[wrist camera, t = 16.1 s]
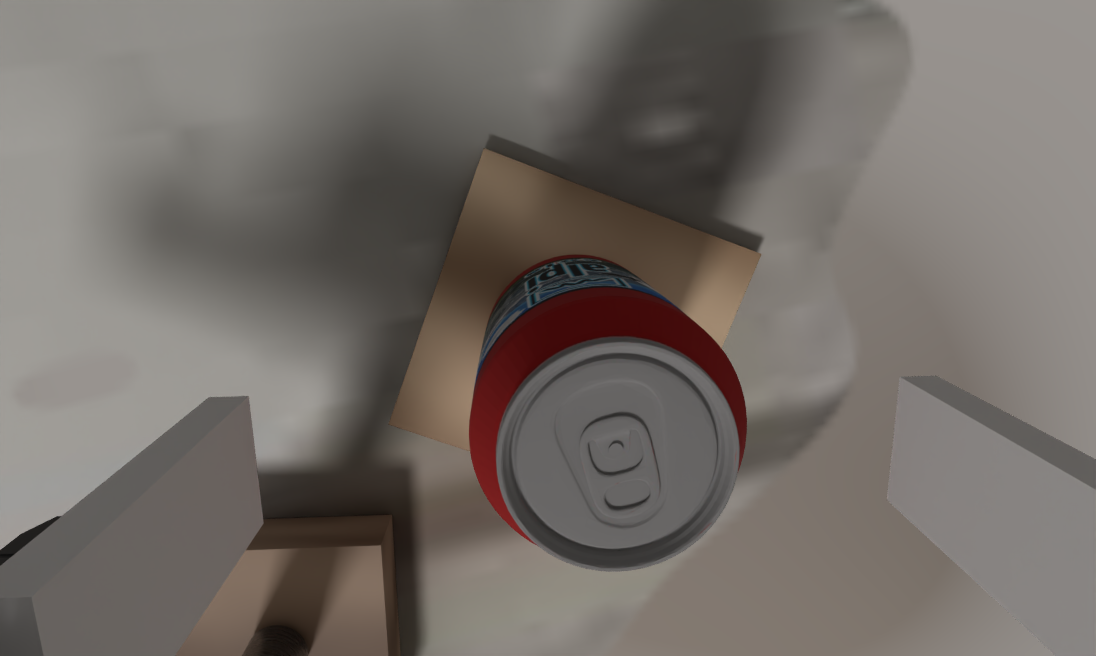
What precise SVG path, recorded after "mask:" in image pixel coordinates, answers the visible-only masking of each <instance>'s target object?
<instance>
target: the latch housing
mask: <svg viewBox="0 0 1096 656" xmlns="http://www.w3.org/2000/svg"><path fill="white" fill-rule="evenodd" d="M263 522H264V524H263V525H262V527H261V528H260V530H259V531H258V533H257V534H256V535H255V537H254V538H253V540H252V541H251V543H250V544H249V546H248V547H247V549H246V550H245V552H244V553H243V555H242V556H241V558H240V559H239V561H238V562H237V564H236V565H235V567H234V568H233V570H232V571H231V573H230V574H229V576H228V577H227V579H226V580H225V582H224V583H223V585H222V586H221V588H220V589H219V591H218V592H217V594H216V595H215V597H214V598H213V600H212V601H211V603H210V604H209V606H208V607H207V609H206V610H205V612H204V613H203V615H202V616H201V618H200V619H199V621H198V622H197V624H196V625H195V627H194V628H193V630H192V631H191V633H190V634H189V636H188V637H187V639H186V640H185V642H184V643H183V645H182V646H181V648H180V649H179V651H178V652H177V653H176V655H175V656H242V654H243V652H244V651H245V649H246V647H247V645H248V644H249V642H250V640H251V638H252V637H253V636H254V634H255V633H256V632H258V631H259V630H261V629H262V628H264V627H267V626H272V625H282V626H287V627H290V628H292V629H294V630H295V631H297V632H298V633H299V634H300V635H301V636H302V637H303V638H304V640H305V642H306V644H307V647H308V656H401V650H400V634H399V618H398V602H397V586H396V570H395V555H394V539H393V523H392V515H366V516H337V517H308V518H279V519H263Z"/></svg>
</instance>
